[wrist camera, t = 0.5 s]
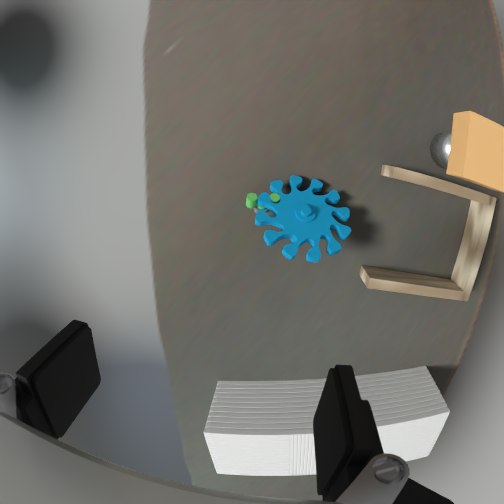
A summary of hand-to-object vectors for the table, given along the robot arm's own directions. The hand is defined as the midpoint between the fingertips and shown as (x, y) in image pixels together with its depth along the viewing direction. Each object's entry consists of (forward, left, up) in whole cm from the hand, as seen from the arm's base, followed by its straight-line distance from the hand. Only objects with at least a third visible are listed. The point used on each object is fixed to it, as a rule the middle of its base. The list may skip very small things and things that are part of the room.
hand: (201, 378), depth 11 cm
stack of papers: (+26, +14, -27) cm, 40 cm away
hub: (-13, +21, -20) cm, 32 cm away
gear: (-2, +4, -26) cm, 27 cm away
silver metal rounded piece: (-13, +21, -26) cm, 36 cm away
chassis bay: (-2, +20, -26) cm, 33 cm away
